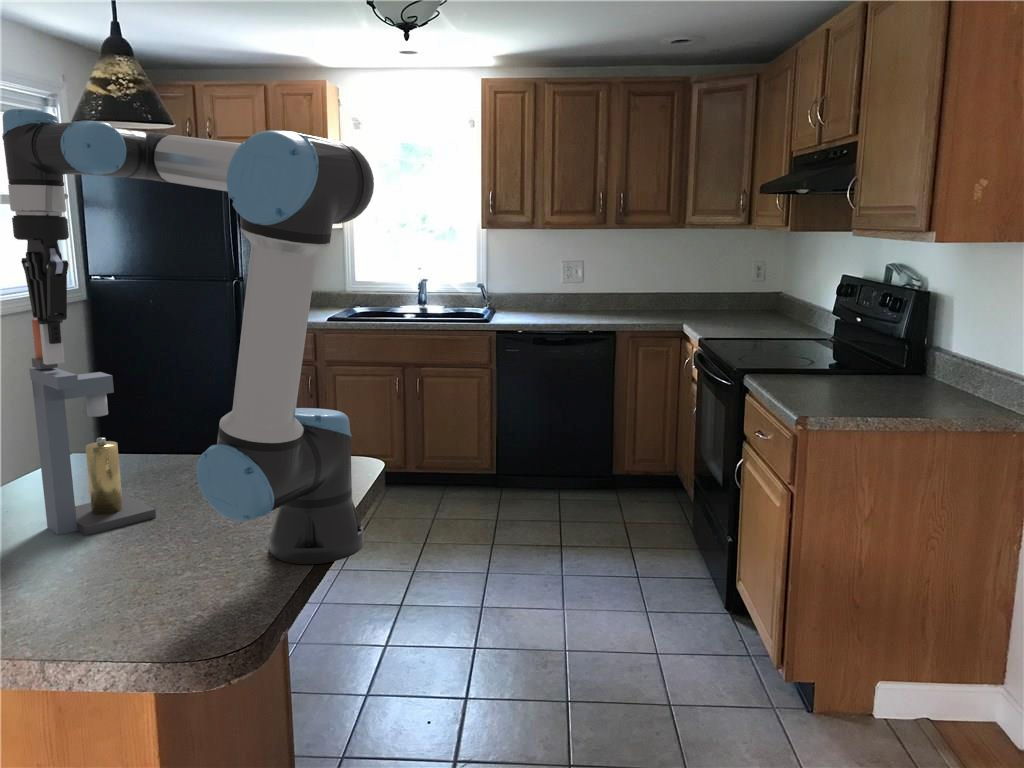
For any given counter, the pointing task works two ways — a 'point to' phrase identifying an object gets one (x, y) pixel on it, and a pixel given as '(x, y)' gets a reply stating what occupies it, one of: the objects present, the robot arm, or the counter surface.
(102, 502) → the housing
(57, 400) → the press
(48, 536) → the counter surface
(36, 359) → the lever
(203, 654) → the counter surface
